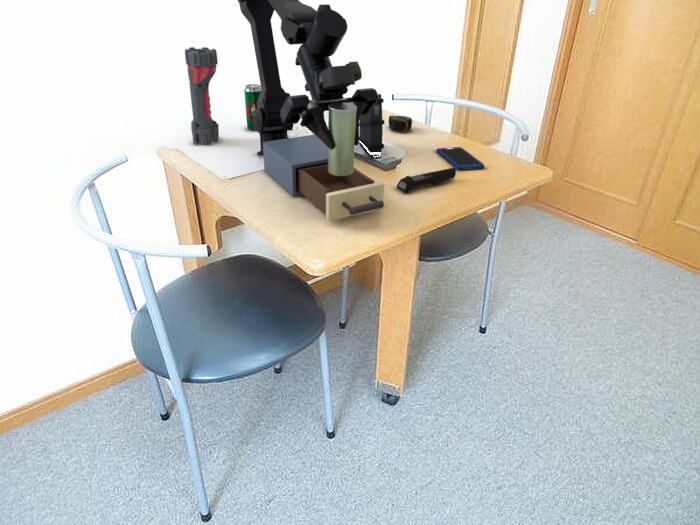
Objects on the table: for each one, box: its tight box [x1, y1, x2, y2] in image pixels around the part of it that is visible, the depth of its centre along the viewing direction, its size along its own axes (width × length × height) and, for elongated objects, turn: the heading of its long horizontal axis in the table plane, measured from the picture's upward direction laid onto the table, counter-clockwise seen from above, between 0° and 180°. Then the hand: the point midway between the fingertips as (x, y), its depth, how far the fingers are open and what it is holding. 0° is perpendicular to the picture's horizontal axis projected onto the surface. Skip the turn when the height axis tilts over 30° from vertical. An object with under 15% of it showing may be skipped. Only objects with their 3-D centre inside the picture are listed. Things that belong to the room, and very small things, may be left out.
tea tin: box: [327, 102, 357, 176], centre depth 91 cm, size 5×5×12 cm
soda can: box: [243, 83, 261, 132], centre depth 137 cm, size 5×5×12 cm
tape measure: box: [387, 115, 413, 133], centre depth 143 cm, size 7×7×4 cm
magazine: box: [358, 93, 385, 159], centre depth 125 cm, size 4×13×15 cm, turn 15°
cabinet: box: [263, 133, 328, 198], centre depth 109 cm, size 16×14×7 cm
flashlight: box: [184, 46, 220, 146], centre depth 124 cm, size 8×8×23 cm
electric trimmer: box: [396, 167, 457, 194], centre depth 110 cm, size 4×16×3 cm, turn 121°
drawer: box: [298, 164, 385, 222], centre depth 97 cm, size 19×12×5 cm, turn 31°
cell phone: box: [435, 146, 485, 170], centre depth 125 cm, size 7×14×1 cm, turn 15°
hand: (344, 146), depth 91 cm, fingers closed on tea tin, 5 cm apart
